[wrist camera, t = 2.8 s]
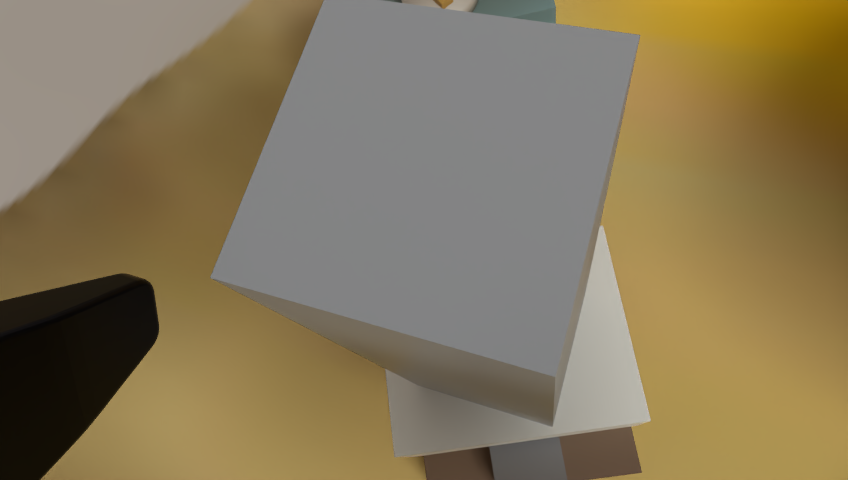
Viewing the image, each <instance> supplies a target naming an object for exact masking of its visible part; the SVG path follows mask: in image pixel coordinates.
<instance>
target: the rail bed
mask: <svg viewBox="0 0 848 480" xmlns="http://www.w3.org/2000/svg"><path fill="white" fill-rule="evenodd" d="M383 1H391V2H398V3H405V4H413V5H420V6H428V7H435V8H443V9H450V10H458V11H465V12H472V13H480V14H487V15H495V16H502V17H510V18H517V19H524V20H532V21H539V22H547V23H554V24H556V6H555V2H554V0H383ZM424 461H425V469H426V478H427V480H589V479H597V478H604V477H612V476H620V475H627V474H635V473H642V471H641V467H640V463H639V458H638V454H637V450H636V446H635V441H634V437H633V433H632V429H631V426H630V427H623V428H616V429H609V430H602V431H595V432H588V433H580V434H573V435H566V436H559V437H552V438H545V439H538V440H531V441H524V442H516V443H509V444H502V445H495V446H488V447H481V448H474V449H467V450H460V451H452V452H445V453H438V454H431V455H424Z"/></svg>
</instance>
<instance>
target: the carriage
mask: <svg viewBox="0 0 848 480" xmlns="http://www.w3.org/2000/svg"><path fill="white" fill-rule="evenodd" d="M639 39H640V35H636V34H629V33H621V32H614V31H606V30H599V29H591V28H584V27H577V26H569V25H562V24H554V23H547V22H539V21H532V20H524V19H517V18H510V17H502V16H495V15H487V14H480V13H472V12H465V11H458V10H450V9H443V8H435V7H428V6H420V5H413V4H405V3H398V2H391V1H383V0H324V1H323V4H322V6H321V9H320V11H319V14H318V16H317V18H316V21H315V23H314V26H313V28H312V31H311V33H310V35H309V38H308V40H307V43H306V45H305V48H304V50H303V53H302V55H301V57H300V60H299V62H298V65H297V67H296V70H295V72H294V74H293V77H292V79H291V82H290V84H289V87H288V89H287V92H286V94H285V96H284V99H283V101H282V104H281V106H280V109H279V111H278V113H277V116H276V118H275V121H274V123H273V126H272V128H271V131H270V133H269V135H268V138H267V140H266V143H265V145H264V148H263V150H262V153H261V155H260V157H259V160H258V162H257V165H256V167H255V170H254V172H253V174H252V177H251V179H250V182H249V184H248V187H247V189H246V192H245V194H244V196H243V199H242V201H241V204H240V206H239V209H238V211H237V213H236V216H235V218H234V221H233V223H232V226H231V228H230V231H229V233H228V235H227V238H226V240H225V243H224V245H223V248H222V250H221V252H220V255H219V257H218V260H217V262H216V265H215V267H214V270H213V272H212V274H211V277H210V278H211V279H213V280H215V281H217V282H219V283H221V284H223V285H225V286H227V287H229V288H231V289H233V290H235V291H237V292H238V293H240V294H242V295H244V296H246V297H248V298H250V299H252V300H254V301H256V302H258V303H260V304H262V305H264V306H265V307H267V308H269V309H271V310H273V311H275V312H277V313H279V314H281V315H283V316H285V317H287V318H289V319H291V320H292V321H294V322H296V323H298V324H300V325H302V326H304V327H306V328H308V329H310V330H312V331H314V332H316V333H318V334H320V335H321V336H323V337H325V338H327V339H329V340H331V341H333V342H335V343H337V344H339V345H341V346H343V347H345V348H347V349H348V350H350V351H352V352H354V353H356V354H358V355H360V356H362V357H364V358H366V359H368V360H370V361H372V362H374V363H375V364H377V365H379V366H381V367H383V368H385V372H386V381H387V390H388V400H389V409H390V419H391V428H392V438H393V447H394V457H417V456H424V455H431V454H438V453H445V452H452V451H460V450H467V449H474V448H481V447H488V446H495V445H502V444H509V443H516V442H524V441H531V440H538V439H545V438H552V437H559V436H566V435H573V434H580V433H588V432H595V431H602V430H609V429H616V428H623V427H630V426H637V425H640V424H643V423H646V422H649V421H651V420H650V415H649V411H648V407H647V403H646V399H645V395H644V391H643V387H642V383H641V379H640V375H639V371H638V367H637V363H636V358H635V354H634V350H633V346H632V342H631V338H630V334H629V330H628V326H627V322H626V318H625V314H624V310H623V306H622V301H621V297H620V293H619V289H618V285H617V281H616V277H615V273H614V269H613V265H612V261H611V257H610V253H609V248H608V244H607V240H606V236H605V232H604V228H603V226H600V222H601V218H602V213H603V208H604V203H605V199H606V194H607V189H608V185H609V180H610V175H611V170H612V166H613V161H614V156H615V152H616V147H617V142H618V138H619V133H620V128H621V123H622V119H623V114H624V109H625V105H626V100H627V95H628V91H629V86H630V81H631V76H632V72H633V67H634V62H635V58H636V53H637V48H638V44H639Z"/></svg>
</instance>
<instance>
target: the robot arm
mask: <svg viewBox="0 0 848 480" xmlns="http://www.w3.org/2000/svg"><path fill="white" fill-rule="evenodd" d="M158 333H159V322H158V315H157V308H156V302H155V295H154V289H153V287H152V285H151V283H150V282H148V281H147V280H145V279H142V278H139V277H136V276H133V275H130V274H116V275H111V276H107V277H103V278H98V279H94V280H90V281H85V282H81V283H77V284H72V285H68V286H64V287H60V288H55V289H51V290H47V291H42V292H38V293H34V294H29V295H25V296H21V297H16V298H12V299H8V300H3V301H0V480H40V479H41V478H42V477H43V476H44V475H45V474H46V473H47V472H48V471H49V470H50V469H51V468H52V467H53V466H54V464H55V463H56V462H57V461H58V460H59V459H60V458H61V457H62V456H63V455H64V454H65V453H66V452H67V451H68V450H69V449H70V447H71V446H72V445H73V444H74V443H75V442H76V441H77V440H78V439H79V438H80V437H81V435H82V434H83V433H84V432H85V431H86V430H87V429H88V427H89V426H90V425H91V424H92V423H93V421H94V420H95V419H96V418H97V416H98V415H99V414H100V413H101V411H102V410H103V409H104V408H105V406H106V405H107V404H108V402H109V401H110V400H111V399H112V397H113V396H114V395H115V394H116V392H117V391H118V390H119V388H120V387H121V386H122V385H123V383H124V382H125V381H126V379H127V378H128V377H129V376H130V374H131V373H132V372H133V371H134V369H135V368H136V367H137V365H138V364H139V363H140V362H141V360H142V359H143V358H144V356H145V355H146V354H147V353H148V351H149V350H150V349H151V348H152V346H153V345H154V343H155V341H156V339H157V337H158Z"/></svg>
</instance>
